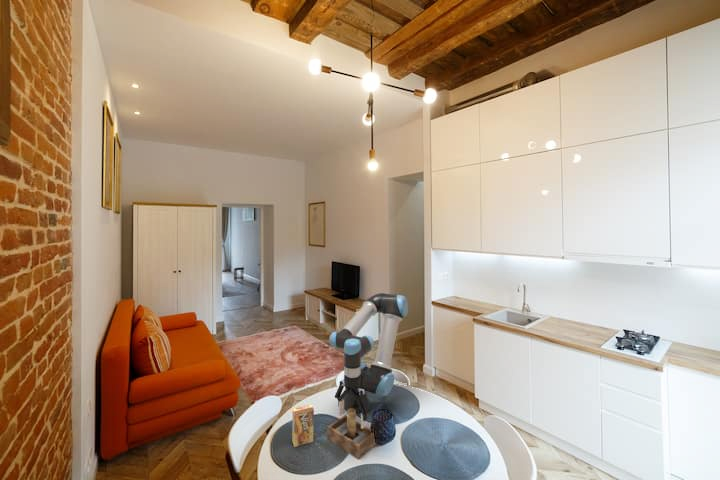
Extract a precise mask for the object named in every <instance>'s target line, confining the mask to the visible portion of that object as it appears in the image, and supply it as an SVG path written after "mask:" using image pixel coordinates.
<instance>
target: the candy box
mask: <svg viewBox="0 0 720 480" xmlns="http://www.w3.org/2000/svg"><path fill="white" fill-rule="evenodd" d="M314 410H315V409H314V407H313V405H312V404H308V405H304V406H303V405H302V406H299V407H295V408H292V423H291V424H292V426H291V427H292V433H291V437H292V438H291V441H292V444H293V447H294V448H296V447H299V446H303V445H306V444H310V443H314V424H315V423H314V419H315V418H314V415H315V413H314V412H315V411H314Z"/></svg>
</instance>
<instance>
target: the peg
mask: <svg viewBox="0 0 720 480" xmlns="http://www.w3.org/2000/svg"><path fill="white" fill-rule="evenodd" d="M346 413H347V414H346V416H347V437H348V438H350V439H351V440H354V439H355V438H356V421H357V413H356V410H355V409H353V408H350V409H348V410H347V411H346Z"/></svg>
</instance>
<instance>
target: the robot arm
mask: <svg viewBox="0 0 720 480" xmlns="http://www.w3.org/2000/svg"><path fill="white" fill-rule="evenodd" d="M408 311H409V304H408V299H407V297H405V295H400V294H392V293H391V294H390V293H385V292H380V293H376V294H374V295H372V296H369V297H368V298H367V299H366V300H365V301H364V302H363V303H362V307H360V309H359V310H358V311H357V312H356V313H355V314H354V316H352V318H351V319H349V321H348V322H347V323H346V324H345V325H344V326H343V327H342V328H341V330H340V331H339V332H338V331H333V332H332V333H331V334H330V336H329V338H328V339H329V341H328V342H329V346H331V348H332V347H333V348H335V349H340V350H343V353H344V354H343V357H344V359H343V362H344V363H343V379H342V380H340V381H339V385H338V388H337V390H336V392H335V395H334V399H337V406H338V416H339V417H340V416H342V415H344V414H345V412H347V410H348V409H350V408H353V409H355V410H356V414H357V413H360V424H361V428H362V429H363V428H364V427H365V426H366V427H367V420H368V416H369V414H370V413H372V409H371V406H370V400H369V396H368V393H370V394H375V395H376V396H381V397H385V396H388V395H389V394H390V393H391V391H392V389H393V386H394V383H395V375H394V373H392V372H393V369H392V367H391V364H392V363H391V362H392V359H393V358H392V357H393V353H394V349H395V345H396V344H395V343H396V339H397V334H398V329H399V324H400V322H402V321H403V319H404V317H407V316H408V314H409V313H408ZM380 313H382V316H383V318H384V320H383V323H382V328H381V332H380V337H379V341H378V344H377V345H378V346H377V349H376V355H375V358H374V361H373V362H372V363H371V364H370V366H368V365H367V362H366V361H364V360H362V357H364V356H366V355H367V354H368V353H370V352H371V351H373V349H374V346H375V342H374V339H373V337H372V336H370V335H367V334H366V335H363V336H357V335H358V334H359V332H360V331H361V330H362V328H363V327H364V326H365V325H366V324H367V323H368V322H369V320H370V319H371V318H372V317H373V316H375V315H377V314H380ZM344 388H345V389H344Z"/></svg>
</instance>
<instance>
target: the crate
mask: <svg viewBox="0 0 720 480" xmlns="http://www.w3.org/2000/svg"><path fill="white" fill-rule="evenodd" d="M326 429H327V431H326V432H327V434H326V435H327V437H326V438H327V440H328V441H330V442H331V443H333V444H335V445H337V446H338V447H339V448H340V449H342V450H344V451H345V452H346V453H348V454H349V455H351V456H353V457H354V458H356V459H357V460H359V459H361V458H362V457H363V456H364V455H365V454H366V453H368V452H369V451H370V450H372V448H373V447H374V446H376V445H377V442H376V443H375V439H374V433H372V432H371V430H372V429H371V428H369V427H367V425H366V426H365V427H364V428H363V429H362V428H361V422H359V421H357V420H356V438H355V439H354V440H351V439H350V438H348V437H347V414H346V415H343V416H342V417H340V418H339V419H336V420H335V421H334V422H333V423H331V424H330V425H327V428H326Z"/></svg>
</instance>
